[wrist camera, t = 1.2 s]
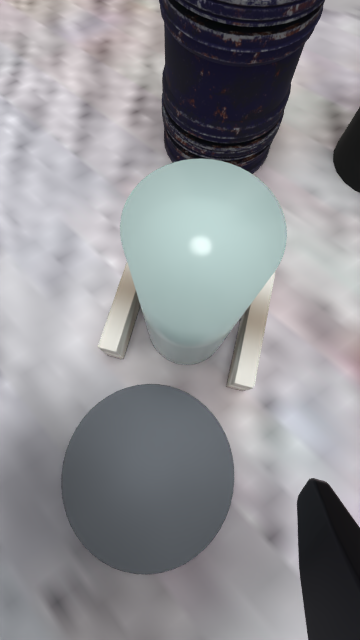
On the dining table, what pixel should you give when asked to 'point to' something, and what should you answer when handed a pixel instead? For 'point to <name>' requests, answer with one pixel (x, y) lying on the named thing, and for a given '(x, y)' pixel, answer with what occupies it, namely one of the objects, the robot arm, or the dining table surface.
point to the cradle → (245, 346)
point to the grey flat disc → (147, 479)
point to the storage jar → (230, 75)
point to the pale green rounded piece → (199, 252)
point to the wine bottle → (349, 154)
